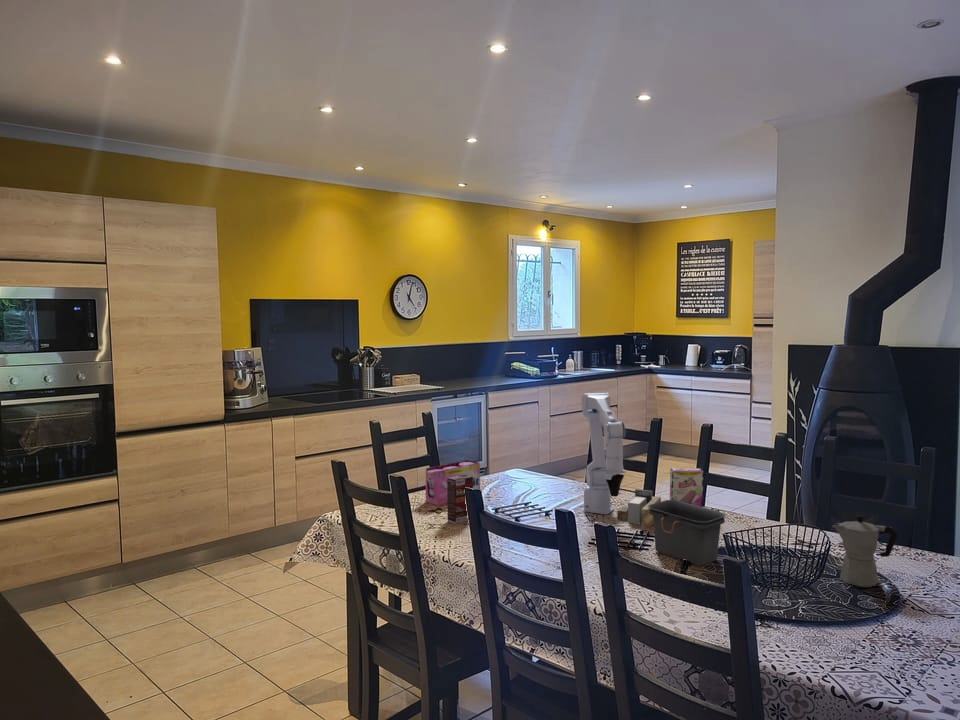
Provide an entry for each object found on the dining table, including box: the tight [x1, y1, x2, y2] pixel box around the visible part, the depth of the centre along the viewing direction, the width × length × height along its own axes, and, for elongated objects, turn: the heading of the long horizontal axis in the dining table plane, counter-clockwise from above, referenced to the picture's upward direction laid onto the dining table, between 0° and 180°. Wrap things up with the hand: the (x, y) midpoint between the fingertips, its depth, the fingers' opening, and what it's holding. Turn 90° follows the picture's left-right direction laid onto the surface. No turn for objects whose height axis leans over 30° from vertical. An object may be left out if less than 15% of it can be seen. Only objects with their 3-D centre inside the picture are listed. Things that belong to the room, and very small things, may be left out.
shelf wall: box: [641, 496, 662, 531], centre depth 241 cm, size 2×18×7 cm, turn 152°
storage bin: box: [648, 499, 727, 567], centre depth 206 cm, size 21×16×14 cm
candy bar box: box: [669, 467, 704, 508], centre depth 250 cm, size 11×5×16 cm, turn 84°
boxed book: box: [627, 496, 647, 524], centre depth 245 cm, size 4×10×7 cm, turn 151°
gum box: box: [425, 459, 481, 506], centre depth 276 cm, size 24×8×14 cm, turn 132°
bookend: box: [634, 488, 653, 504], centre depth 251 cm, size 6×3×9 cm, turn 62°
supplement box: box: [446, 475, 473, 525], centre depth 246 cm, size 9×5×16 cm, turn 131°
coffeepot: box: [832, 514, 899, 588], centre depth 185 cm, size 15×9×18 cm, turn 68°
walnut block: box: [616, 506, 628, 521], centre depth 247 cm, size 3×6×3 cm, turn 151°
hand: (614, 495), depth 237 cm, fingers closed
